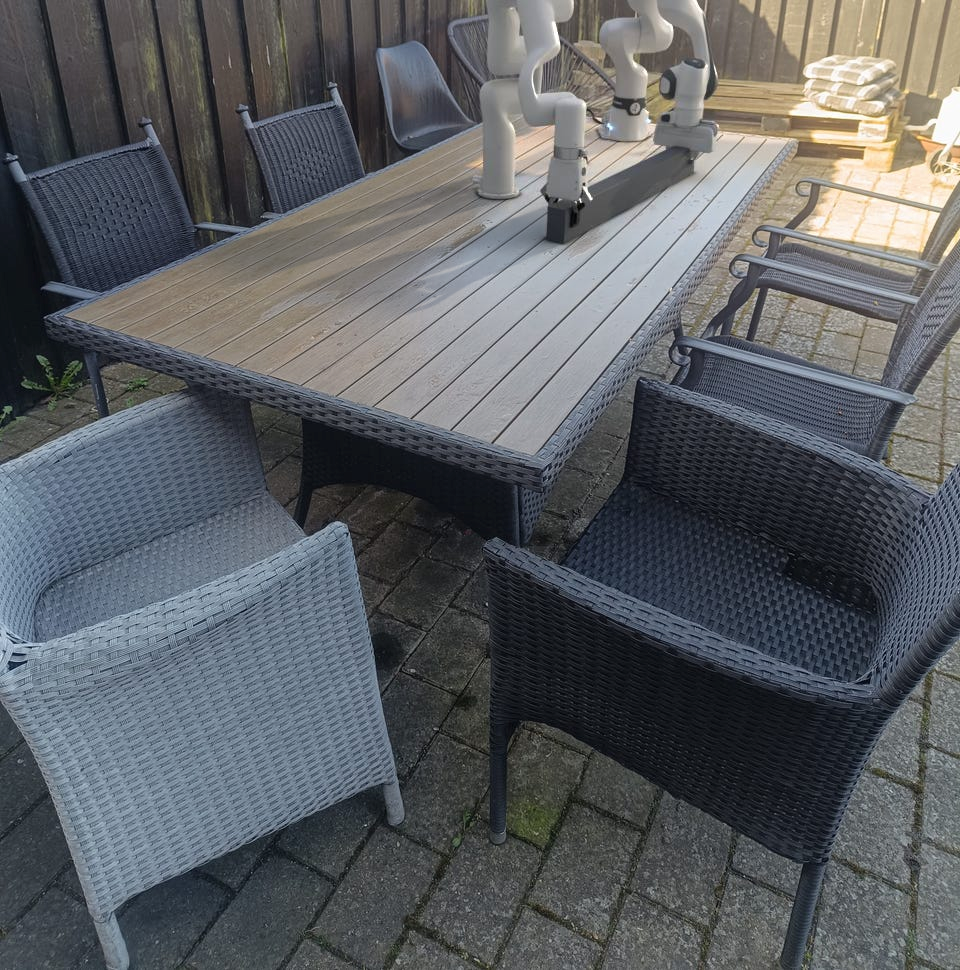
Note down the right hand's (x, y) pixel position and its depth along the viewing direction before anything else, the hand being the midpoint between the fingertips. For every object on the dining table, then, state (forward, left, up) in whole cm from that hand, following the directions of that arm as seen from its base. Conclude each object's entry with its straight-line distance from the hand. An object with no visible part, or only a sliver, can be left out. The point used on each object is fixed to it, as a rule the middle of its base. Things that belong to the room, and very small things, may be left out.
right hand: (681, 163), depth 270 cm
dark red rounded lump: (-21, -28, -4) cm, 35 cm away
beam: (+24, -27, -4) cm, 36 cm away
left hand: (+49, -54, 0) cm, 73 cm away
